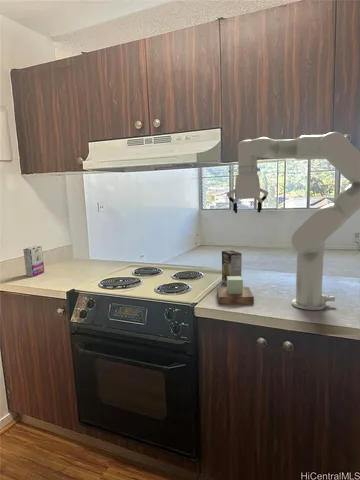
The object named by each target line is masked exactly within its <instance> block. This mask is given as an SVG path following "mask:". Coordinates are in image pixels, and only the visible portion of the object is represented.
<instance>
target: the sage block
mask: <svg viewBox="0 0 360 480" xmlns="http://www.w3.org/2000/svg"><path fill="white" fill-rule="evenodd" d="M243 284H244V280H243V278H242V275H241V276H227V284H226V287H227V292H228V294H243V287H244V285H243Z"/></svg>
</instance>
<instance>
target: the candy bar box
mask: <svg viewBox="0 0 360 480" xmlns="http://www.w3.org/2000/svg"><path fill="white" fill-rule="evenodd" d="M43 255H44V254H43V246H42V245H34V246H30V247H27V248H24V249H23V258H24V266H25V275H26V277H28V278H34V277H37V276H39V275H41V274H43V273H45V266H44V264H45V263H44V256H43Z"/></svg>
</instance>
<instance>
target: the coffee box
mask: <svg viewBox="0 0 360 480" xmlns="http://www.w3.org/2000/svg"><path fill="white" fill-rule="evenodd" d="M242 260H243V259H242V252H239V251H235V250H222V251H221V283H223V284H225V285H227V276H241V277H242V267H243V266H242V263H243V261H242Z"/></svg>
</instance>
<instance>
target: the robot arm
mask: <svg viewBox="0 0 360 480" xmlns="http://www.w3.org/2000/svg"><path fill="white" fill-rule="evenodd" d="M237 151H238V153H237V156H238V157H237V160H238V161H237V165H238V166H237V167H238V169H237V174H236V176H235V183H234V189H232V190H230V191H228V192H227V193H226V196H227V198H228V199H229V201H230V202H231V203H232V205H233V207H232V208H233V209H232V210H233V212H234V213H235V214H237V213H238V203H237V202H238V201H239V199H240V200H244V199H246V200H248V199H256V200H257V203H256V204H257V206H256V207H257V208H256V210H257V211H256V212H257V213H258V214H259V213H261V211H263V202H264V201H265V200H266V199H267V197H268V195H269V194H270V193H269V191H267V190H265V189H263V188H261V186H260V185H261V184H260V177H259V176H260V175H259V174H258V173H259V172H261V168H260V167H258V165H257V164H258V162H257V161H258V159H257V158H258V157H259V158H266V159H271V160H273V159H282V160H283V159H287V160H289V159H291V160H292V159H294V160H326V161H328V162H329V164H330V165H332V166H333V167H334V168H335V169H336V171H338V173H339V174H341V176H342V177H343V178H345V179H346V180H347V181H348V183H347V185H346V187H344V188H343V190H341V191H340V192H339V193H338V194H337V196H335V197H334V198H333V199H332V200H331V201H330V202H329V203H328V204H326V205H324V206H320V207H319V208H317V209H316V211H314V212H313V213H312V214H311V215H310V216H309V217H308V218H307V219H306V220H304V222H303V223H302V224H301V225H300V226H299V227H298V228H296V230H295V231H294V232H293V234H292V235H291V241H290V243H291V246H292V248H293V249H294V251H296V252H297V253H296V272H295V273H296V275H295V277H296V278H295V282H296V283H295V285H296V286H295V298H293V299H292V300H291V305H293V307H295V308H297V309H300V310H305V311H306V310H307V311H321V310H323V309H325V308H326V307H327V302H335V300H336V297H335V296H330V295H329V294H326V295H325V294H324V293H323V276H324V275H323V274H324V254H325V245H326V240H328V239H329V238H330V237H331V236H332V235H333V234H334V233H335V232H337V231H338V230H339V229H341V228H342V227H343V225H344V224H345V223H346V222H347V221H348V220H349V219H350V218H351V217H352V216H353V215H354V214H355V213H356V212H357V211H359V209H360V151H359V149H357V148H356V147H355V146H354V145H353V144H352V143H351V142H350V141H349V140H348V138H347V137H346V135H344V134H342V133H341V132H338V131H332V132H328V133H326V134H311V135H306V134H304V135H303V134H302V135H300V136H298V137H296V138H294V139H273V138H269V137H267V136H262V137H258V138H254V139H244V140H241V141H239V143H238V144H237ZM261 193H262V194H263V196H262V197H261ZM232 194H234V198H233V197H232Z"/></svg>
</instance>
